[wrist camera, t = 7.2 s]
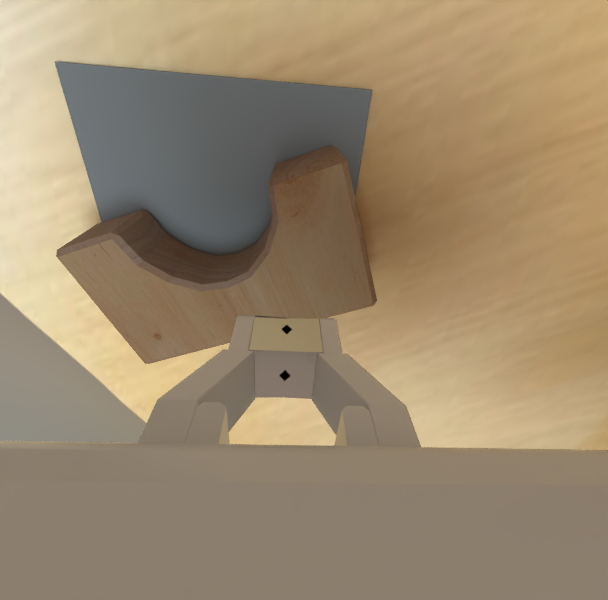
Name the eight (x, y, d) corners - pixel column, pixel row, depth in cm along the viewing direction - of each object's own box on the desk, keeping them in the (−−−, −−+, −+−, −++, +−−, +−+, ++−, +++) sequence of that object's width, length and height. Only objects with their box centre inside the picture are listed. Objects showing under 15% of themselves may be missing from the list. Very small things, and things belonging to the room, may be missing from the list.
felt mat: (371, 89, 21) (372, 89, 20) (342, 274, 28) (342, 276, 28) (57, 62, 19) (54, 61, 19) (115, 262, 27) (114, 264, 27)
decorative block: (335, 140, 22) (93, 223, 25) (347, 155, 17) (46, 255, 20) (364, 271, 28) (167, 325, 31) (378, 308, 23) (144, 368, 26)
